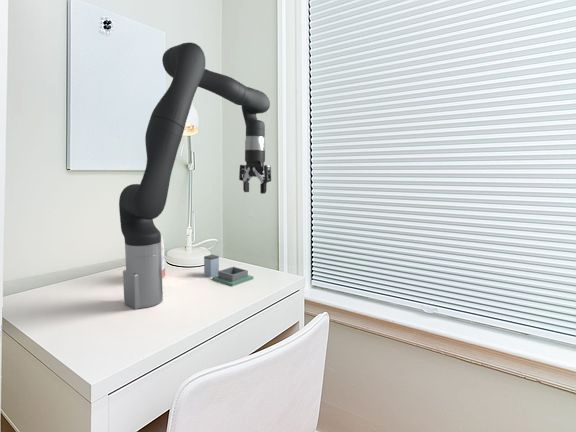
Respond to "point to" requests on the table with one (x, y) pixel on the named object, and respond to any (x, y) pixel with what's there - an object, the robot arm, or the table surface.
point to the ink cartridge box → (162, 257)
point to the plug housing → (211, 265)
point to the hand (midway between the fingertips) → (254, 192)
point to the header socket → (232, 276)
